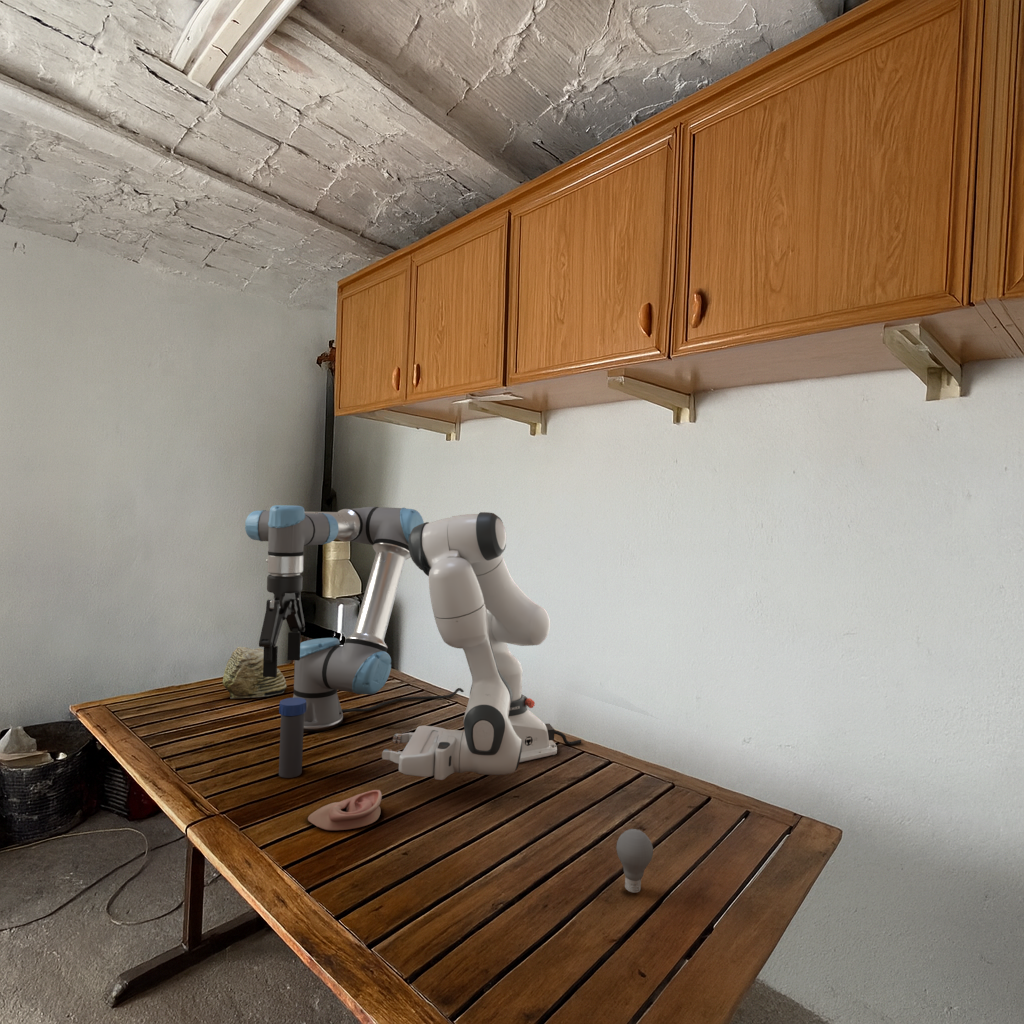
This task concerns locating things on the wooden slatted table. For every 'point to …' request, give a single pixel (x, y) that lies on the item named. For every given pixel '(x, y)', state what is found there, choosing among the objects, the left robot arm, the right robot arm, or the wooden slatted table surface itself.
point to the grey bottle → (291, 746)
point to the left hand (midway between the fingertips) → (282, 667)
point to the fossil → (250, 675)
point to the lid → (292, 706)
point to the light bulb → (634, 857)
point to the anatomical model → (349, 812)
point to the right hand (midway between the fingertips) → (388, 745)
